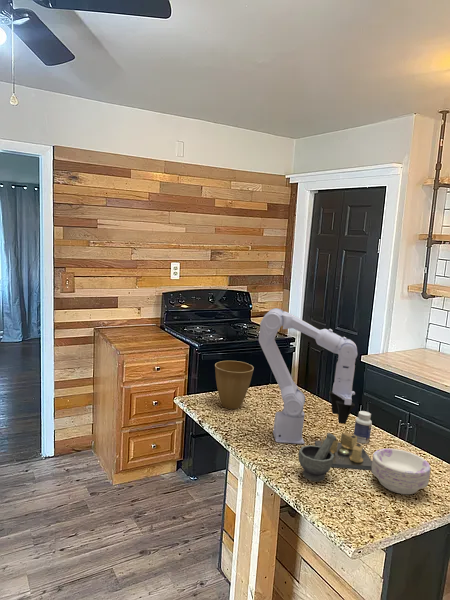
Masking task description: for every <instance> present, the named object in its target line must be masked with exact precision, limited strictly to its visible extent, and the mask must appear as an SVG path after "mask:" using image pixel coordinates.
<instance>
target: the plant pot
mask: <svg viewBox="0 0 450 600" xmlns="http://www.w3.org/2000/svg"><path fill="white" fill-rule="evenodd" d="M254 368H255V367H254V366H253V365H252V364H249V363H247V362H245V361H237V360H222V361H218V362H216V363H215V364H214V370H215V371H214V373H215V381H216V382H215V383H216V387H217V388H216V389H217V393H218V398H219V401H220V405H221V406H222V407H223V408H225V409H229V410H238V409H240V408H241V406H242V404H243V402H244V401H245V398H246V395H247V393H248V390H249V388H250V384H251V381H252V377H253V373H254Z"/></svg>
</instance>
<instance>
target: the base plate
mask: <svg viewBox="0 0 450 600" xmlns="http://www.w3.org/2000/svg"><path fill="white" fill-rule="evenodd" d="M321 442H322V440H314V446H320V447H321ZM358 444H359V445H361V443H358ZM352 451H353V450H347V449H344V448H343V447H342V444H341V443H340V442H338V445H337V452H335V454H333V455H334V460H333V463H332V466H331V468H338V469H352V470H363V471H364V470H365V471H372V470H371V467H372V459H371V458H370V456H369V455H368V453H367V452H366V450H365V448H363V450H362V456H361V457H362V458H363V462H362V463H355V462H352V461H351V460H350V459H349V458H350V456H351V455H352Z"/></svg>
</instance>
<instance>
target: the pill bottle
mask: <svg viewBox="0 0 450 600" xmlns="http://www.w3.org/2000/svg"><path fill="white" fill-rule="evenodd" d="M371 417H372V413H370V412H369V411H365V410H360V411H358V414H357V416H356V418H355V423H354V428H353V429H354V430H353V435H354V436H356V437H357V443H359V444H368V443H369V442H370V438H371V432H372V425H373V422H372V420H371Z"/></svg>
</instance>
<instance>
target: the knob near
mask: <svg viewBox="0 0 450 600" xmlns="http://www.w3.org/2000/svg"><path fill="white" fill-rule="evenodd" d="M359 444H360V443H357V444H355V445H354V447H353V451H352V455H351V456H350V458H349V459H350V460H351V461H352V462H355V463H362V462H363V458H362V457H361V456H362V450H363V449H364V445H362V444H360V445H359Z"/></svg>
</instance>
